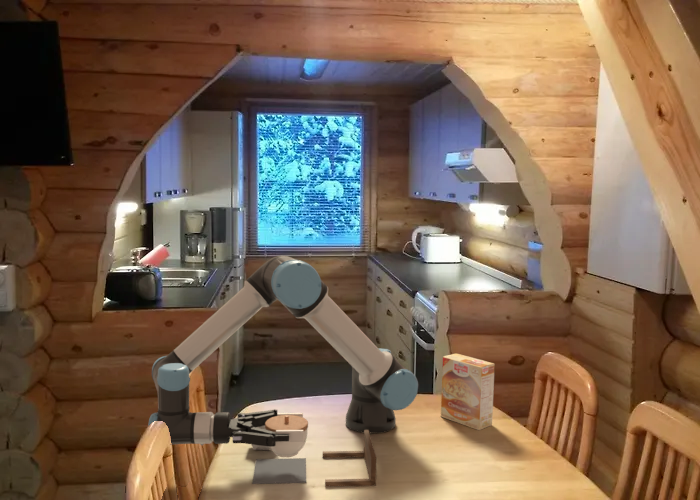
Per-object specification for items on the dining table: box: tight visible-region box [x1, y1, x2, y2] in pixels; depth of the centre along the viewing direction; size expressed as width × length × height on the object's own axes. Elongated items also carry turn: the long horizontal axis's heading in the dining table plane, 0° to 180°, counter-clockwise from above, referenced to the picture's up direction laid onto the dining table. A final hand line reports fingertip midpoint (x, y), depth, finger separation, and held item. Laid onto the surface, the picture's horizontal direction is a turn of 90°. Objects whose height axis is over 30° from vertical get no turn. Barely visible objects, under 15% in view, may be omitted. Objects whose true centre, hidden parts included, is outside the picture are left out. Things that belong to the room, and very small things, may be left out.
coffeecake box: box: [440, 353, 496, 431], centre depth 196 cm, size 15×7×20 cm, turn 42°
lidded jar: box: [265, 415, 309, 458], centre depth 159 cm, size 11×11×9 cm
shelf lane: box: [322, 430, 377, 488], centre depth 161 cm, size 12×17×7 cm
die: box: [250, 426, 272, 451], centre depth 174 cm, size 8×9×10 cm
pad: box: [252, 457, 307, 485], centre depth 160 cm, size 13×13×1 cm
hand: (302, 426), depth 159 cm, fingers closed on lidded jar, 11 cm apart
